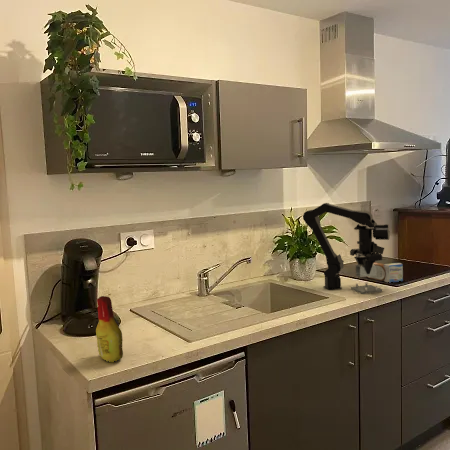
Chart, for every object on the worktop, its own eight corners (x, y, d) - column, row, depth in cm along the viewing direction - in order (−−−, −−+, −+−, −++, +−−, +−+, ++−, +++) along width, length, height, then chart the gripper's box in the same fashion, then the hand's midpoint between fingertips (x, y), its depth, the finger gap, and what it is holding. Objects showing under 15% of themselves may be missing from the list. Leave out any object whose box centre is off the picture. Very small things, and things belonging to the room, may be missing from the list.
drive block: (360, 277, 211) (360, 266, 210) (355, 275, 214) (355, 264, 214) (376, 275, 212) (376, 264, 212) (371, 273, 216) (371, 263, 216)
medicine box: (389, 283, 225) (388, 265, 224) (383, 281, 230) (383, 263, 229) (403, 281, 227) (402, 263, 227) (397, 279, 232) (397, 262, 231)
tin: (389, 281, 229) (389, 264, 228) (385, 282, 227) (385, 265, 226) (366, 276, 242) (366, 260, 241) (362, 277, 240) (362, 261, 240)
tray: (362, 293, 208) (362, 288, 208) (351, 289, 218) (351, 283, 218) (382, 291, 210) (382, 286, 210) (370, 286, 220) (370, 281, 220)
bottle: (92, 356, 149) (87, 295, 147) (111, 351, 153) (106, 291, 151) (108, 367, 139) (103, 301, 137) (128, 361, 143) (123, 297, 141)
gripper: (393, 240, 204) (393, 275, 206) (370, 235, 223) (371, 267, 224) (370, 242, 202) (370, 277, 204) (349, 237, 220) (349, 270, 222)
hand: (365, 273), depth 213 cm, fingers closed on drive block, 4 cm apart
